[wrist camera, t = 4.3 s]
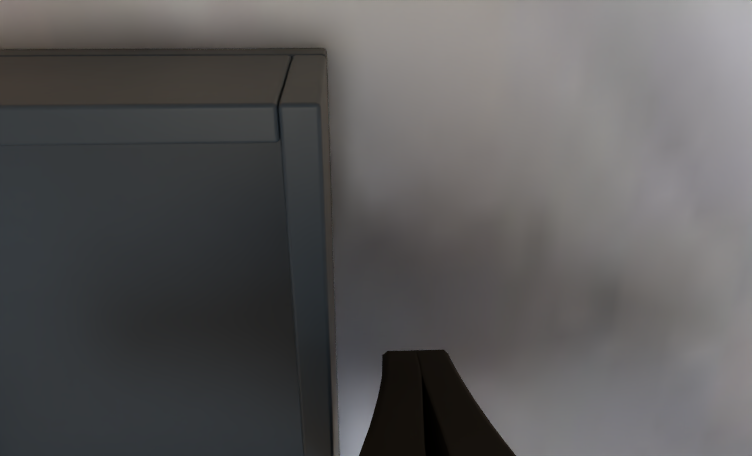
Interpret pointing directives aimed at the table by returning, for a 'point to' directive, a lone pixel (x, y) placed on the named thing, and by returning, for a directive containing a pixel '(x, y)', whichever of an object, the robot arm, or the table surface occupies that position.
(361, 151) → the table surface
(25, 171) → the tray
